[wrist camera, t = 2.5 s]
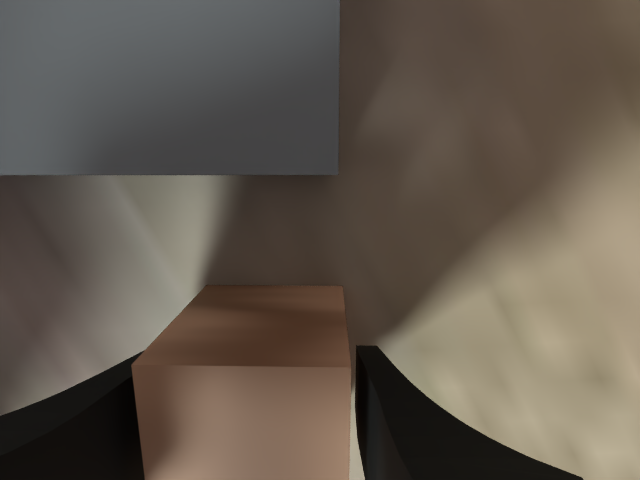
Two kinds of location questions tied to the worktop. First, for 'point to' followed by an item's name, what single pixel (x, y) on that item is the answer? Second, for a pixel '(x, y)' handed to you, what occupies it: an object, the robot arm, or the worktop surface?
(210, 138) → the charcoal stand
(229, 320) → the terracotta block
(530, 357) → the worktop surface
